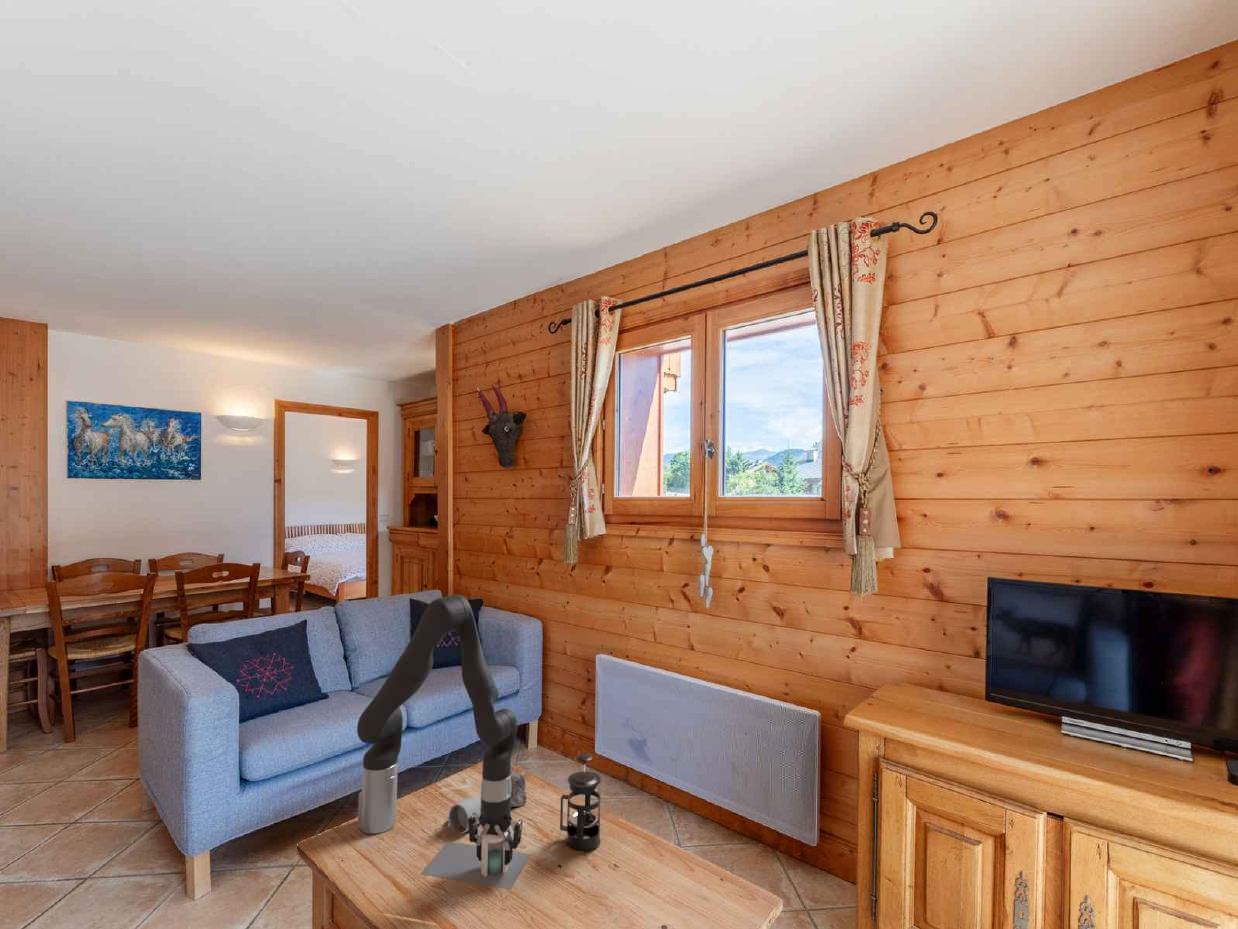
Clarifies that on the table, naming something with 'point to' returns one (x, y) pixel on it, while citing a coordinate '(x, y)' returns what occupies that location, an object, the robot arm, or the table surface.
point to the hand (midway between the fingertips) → (494, 861)
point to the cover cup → (488, 845)
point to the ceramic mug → (464, 813)
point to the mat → (472, 866)
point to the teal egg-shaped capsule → (494, 862)
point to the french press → (582, 810)
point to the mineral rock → (518, 789)
